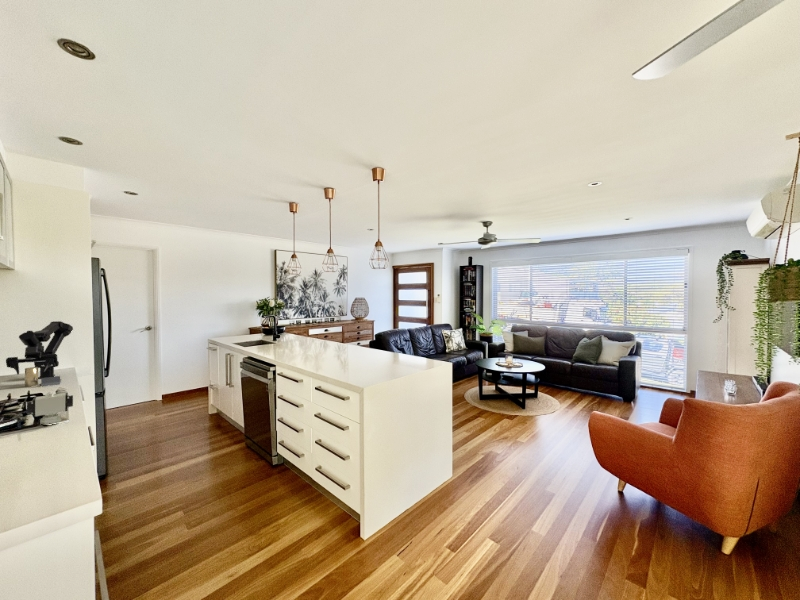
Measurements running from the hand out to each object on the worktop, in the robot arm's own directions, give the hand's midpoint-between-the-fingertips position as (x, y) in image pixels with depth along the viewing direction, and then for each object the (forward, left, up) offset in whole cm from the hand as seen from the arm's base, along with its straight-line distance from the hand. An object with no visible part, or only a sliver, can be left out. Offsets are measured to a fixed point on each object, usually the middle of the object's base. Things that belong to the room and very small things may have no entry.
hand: (31, 372), depth 174 cm
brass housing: (-1, 0, -7) cm, 8 cm away
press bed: (0, +8, -7) cm, 11 cm away
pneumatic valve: (+85, +13, -8) cm, 87 cm away
